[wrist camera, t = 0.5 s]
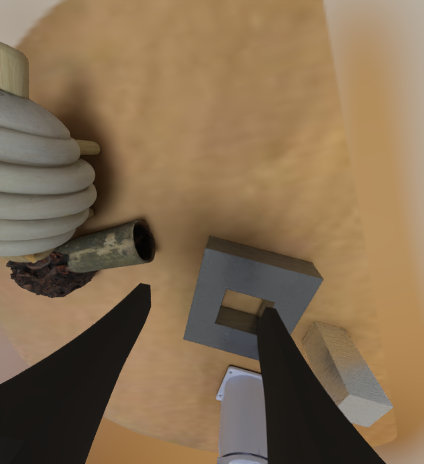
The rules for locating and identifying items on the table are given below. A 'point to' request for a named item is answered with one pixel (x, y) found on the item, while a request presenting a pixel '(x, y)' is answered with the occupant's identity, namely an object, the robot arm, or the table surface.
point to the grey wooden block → (345, 374)
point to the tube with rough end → (85, 259)
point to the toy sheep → (38, 170)
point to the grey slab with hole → (251, 283)
